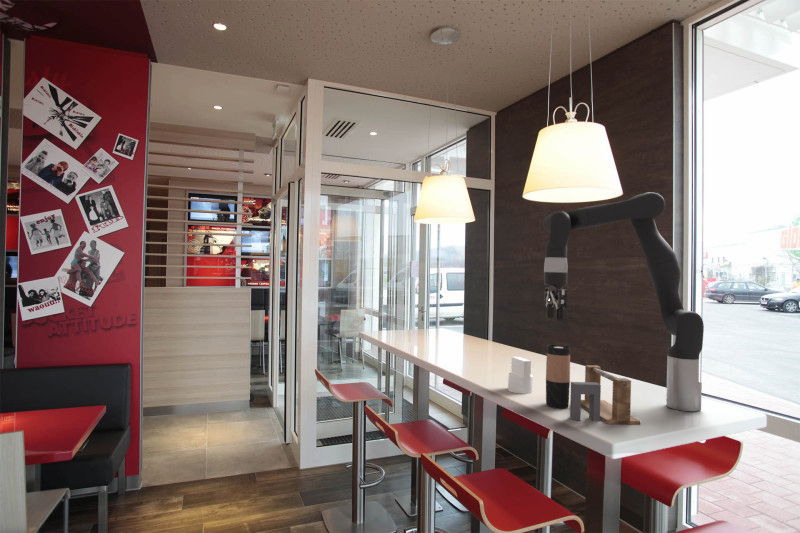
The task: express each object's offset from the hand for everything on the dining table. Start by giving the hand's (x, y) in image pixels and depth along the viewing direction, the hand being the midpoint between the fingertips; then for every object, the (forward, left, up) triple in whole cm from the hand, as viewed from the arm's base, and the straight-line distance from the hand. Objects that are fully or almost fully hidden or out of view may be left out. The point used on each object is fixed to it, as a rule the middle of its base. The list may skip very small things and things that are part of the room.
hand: (554, 319), depth 154 cm
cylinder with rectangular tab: (+5, -19, -29) cm, 36 cm away
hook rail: (-15, +7, -29) cm, 33 cm away
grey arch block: (-5, +14, -29) cm, 33 cm away
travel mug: (-2, 0, -29) cm, 29 cm away
